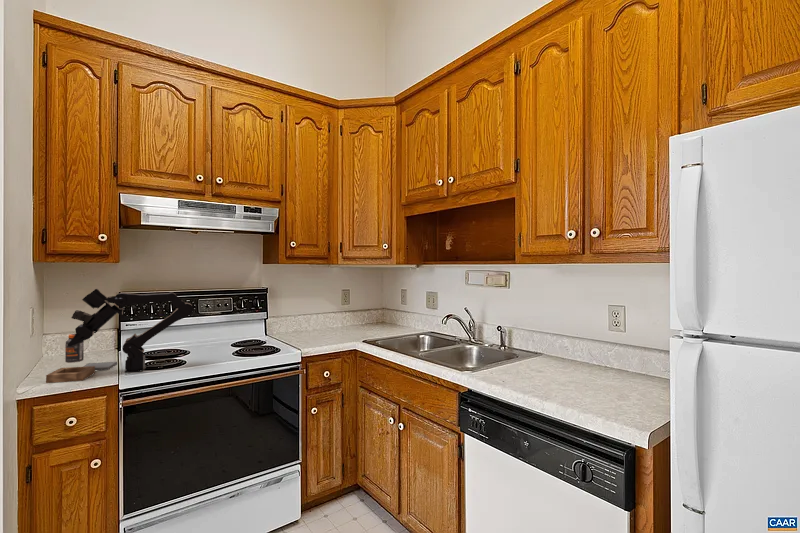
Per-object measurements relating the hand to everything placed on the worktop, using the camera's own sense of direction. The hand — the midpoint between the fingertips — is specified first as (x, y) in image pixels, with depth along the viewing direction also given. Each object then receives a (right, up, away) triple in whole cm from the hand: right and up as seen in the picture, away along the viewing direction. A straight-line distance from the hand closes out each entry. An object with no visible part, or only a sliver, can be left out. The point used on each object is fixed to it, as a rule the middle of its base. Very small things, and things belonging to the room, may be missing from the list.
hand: (70, 344), depth 169 cm
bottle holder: (+2, -13, -2) cm, 14 cm away
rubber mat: (+1, -13, +15) cm, 20 cm away
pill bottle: (+1, -7, +1) cm, 7 cm away
